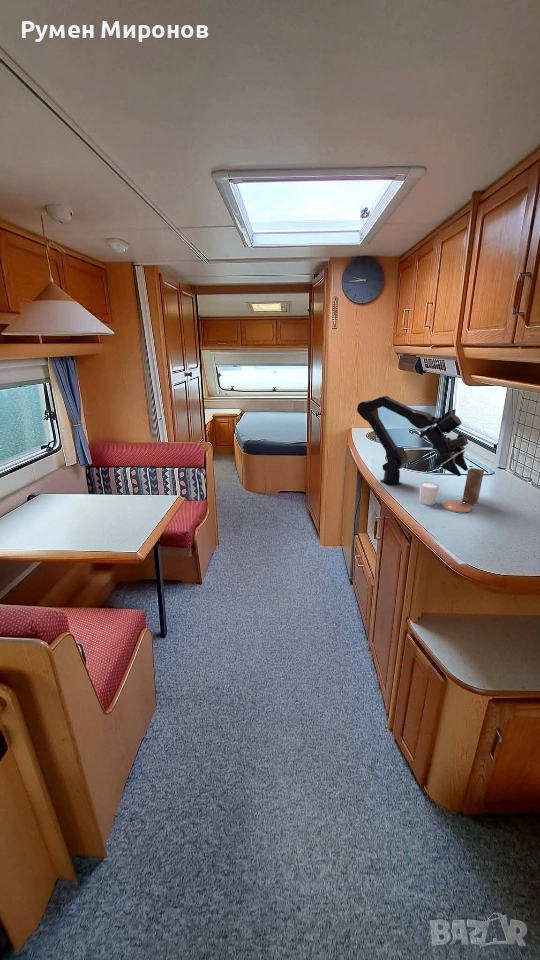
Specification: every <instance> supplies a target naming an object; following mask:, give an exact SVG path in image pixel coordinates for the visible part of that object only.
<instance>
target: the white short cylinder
mask: <svg viewBox="0 0 540 960" xmlns="http://www.w3.org/2000/svg"><path fill="white" fill-rule="evenodd" d="M439 491H440V485H438V484H436V483H434V482H428V481H427V482H425V481H424V482H421V483H419V496H418V497H419V499H418V502H419V503H420V504H422V505H425V504H426V506H433V504H434V505H435V504H436V500H437V497H438V495H439V494H438V493H439Z"/></svg>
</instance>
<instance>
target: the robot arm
mask: <svg viewBox="0 0 540 960" xmlns="http://www.w3.org/2000/svg"><path fill="white" fill-rule="evenodd" d="M380 408H385V409H387V410H389V411H391V412H393V413H395V414H397V415H399V416H401V417H403V418H405V419H406V420H407V421H408V422H409V423H410V424H411V425H413V426H414V427H415V428H416V429H419V430H420V433H419V434H420V435H419V439H422V438H424V437H425V438H426V439H427V440H428V441H429V442H430V444H431V445H432V447H431V448H432V450H433V451H434V450H435V451H436V452H437V453H438V454H439V455H438V457H436V458H435V459H434V464H435V465H436V467H439V468H441V469H444V470H446V471H447V472H449V473H452V474H453V475H455V476H456V477H461V476H462V473H461V471H460V470H459V468H460V469H462V470H463V471H465V472H468V470H469V467H468V465H467V463H466V460H465V457H464V455H465V453H466V451H465V450H466V448H465V446H467V445H469V442H468V440H469V438H468V437H467V435H464V434H463V433H460V434H457V436H456V438H451V437H449V436H448V437H447V436H446V434H450V433H451V432H452V431H454V430H455V429H457V428H458V427H460V426H461V425H462V421H461V419H460V418H459V416H458V415H456V414H455V413H453V412H452V411H451V410H448V411H447V412H446V413H444V415H442V416H440V417H436V416H433V415H432V414H431V413H429V412H428V411H423V410H418V409H414V408H411V407H409V406H407V405H406V404H404V403H401V402H399V401H397V400H396V399H393V398H391V397H389V395H382V396H379V397H378V398H375V399H373V400H372V399H371V400H366V401H361V402H359V403H358V405H357V408H356V412H357V413H358V414H359V416H360V417H361V418H362V419H363V420H365V421H366V422H367V423H368V424H369V426H370V428H371V429H372V430H373V431H372V432H374V434H375V436H376V437H377V439H378V440H379V443H380V444H381V446H382V448H383V449H384V451H385V457H386V460H387V462H385V463H384V464H383V465H382V470H383V472H384V475H383V479H380V482H382V483H383V484H385V485H387V486H399V485H402V482H401V481H400V476H401V475H400V472H401V471H400V469H403V466H405V465H406V464H407V463H408V459H409V458H408V455H409V454H408V453H407V452H406V450H405V449H404V447H403V446H401V447H398V446H397V445H396V444H395V442H394V440H393V438H392V437H391V435H390V433H389V432H388V430H387V428H386V427H385V425H384V423H383V421H382V420H381V418H380V417H379V409H380ZM434 425H435V426H434ZM422 429H425V430H422ZM458 467H459V468H458Z"/></svg>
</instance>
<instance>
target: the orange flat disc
mask: <svg viewBox="0 0 540 960" xmlns="http://www.w3.org/2000/svg"><path fill="white" fill-rule="evenodd" d="M441 507H442V508H443V507H444V508H443V509H445V510H446V509H447V511H449V510H450V511H449V512H452V511H454V512H453V513H457V512H460V513H459V514H467V513H466V512H468V513H470V512H471V511H472V505H470V504H466V503H463V502H462V501H458V500H444V501H442V503H441Z"/></svg>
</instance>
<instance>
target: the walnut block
mask: <svg viewBox="0 0 540 960" xmlns="http://www.w3.org/2000/svg"><path fill="white" fill-rule="evenodd" d="M484 472H485V469H480V468H475V467H470V468H468V470H467V475H466V479H465V484H464V489H463V495H462V501H461V502H465V503H469V504H468V505H470V504H472V505H471V506H474V505H475V504H476V505H477V504H478V502H479V497H480V493H481V488H482V483H483V479H484ZM476 505H475V506H476Z"/></svg>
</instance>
